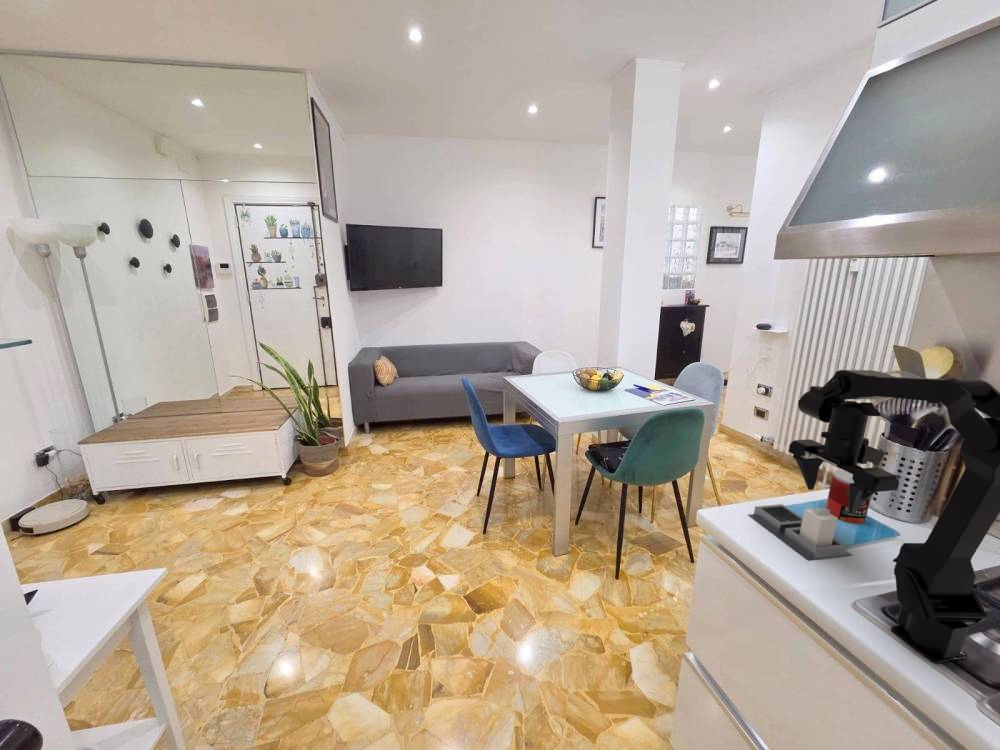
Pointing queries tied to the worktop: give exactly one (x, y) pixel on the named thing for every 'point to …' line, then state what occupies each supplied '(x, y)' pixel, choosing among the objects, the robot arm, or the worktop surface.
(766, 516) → the grey slotted tray
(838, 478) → the canned food
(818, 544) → the plug
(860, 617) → the worktop surface
